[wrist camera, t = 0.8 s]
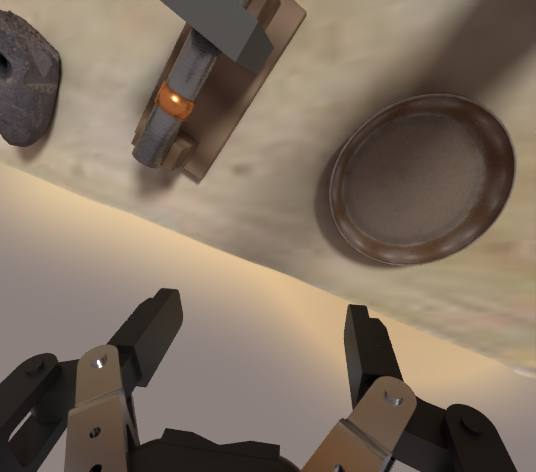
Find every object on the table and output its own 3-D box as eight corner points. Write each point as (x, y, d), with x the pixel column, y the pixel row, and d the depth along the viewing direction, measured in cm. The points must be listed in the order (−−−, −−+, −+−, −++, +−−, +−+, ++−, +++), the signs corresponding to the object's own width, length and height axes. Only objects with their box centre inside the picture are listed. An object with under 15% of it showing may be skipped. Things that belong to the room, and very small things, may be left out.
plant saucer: (337, 93, 33) (340, 92, 30) (528, 95, 31) (551, 94, 28) (320, 249, 42) (321, 260, 39) (468, 259, 40) (482, 271, 37)
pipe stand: (229, -55, 29) (207, -99, 22) (306, 15, 30) (306, -8, 24) (140, 131, 38) (107, 136, 31) (204, 177, 39) (184, 191, 33)
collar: (200, -17, 27) (144, -79, 18) (274, 47, 29) (258, 20, 19) (185, 15, 29) (126, -28, 19) (257, 74, 30) (235, 62, 21)
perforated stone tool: (55, 152, 40) (10, 161, 34) (20, 133, 40) (-33, 139, 34) (76, 41, 34) (25, 27, 28) (34, 16, 34) (-28, -4, 27)
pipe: (237, -49, 24) (227, -72, 21) (269, -20, 25) (264, -37, 21) (140, 147, 32) (123, 151, 29) (166, 165, 33) (152, 172, 30)
